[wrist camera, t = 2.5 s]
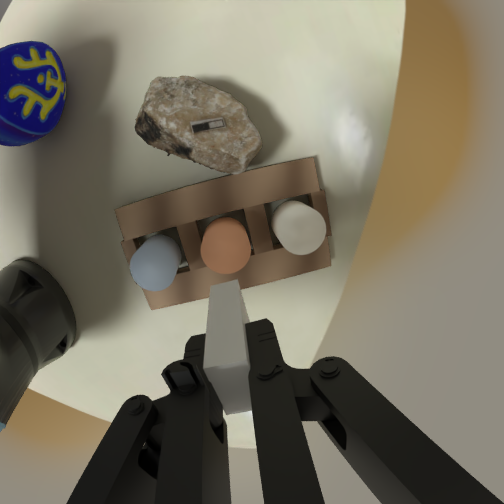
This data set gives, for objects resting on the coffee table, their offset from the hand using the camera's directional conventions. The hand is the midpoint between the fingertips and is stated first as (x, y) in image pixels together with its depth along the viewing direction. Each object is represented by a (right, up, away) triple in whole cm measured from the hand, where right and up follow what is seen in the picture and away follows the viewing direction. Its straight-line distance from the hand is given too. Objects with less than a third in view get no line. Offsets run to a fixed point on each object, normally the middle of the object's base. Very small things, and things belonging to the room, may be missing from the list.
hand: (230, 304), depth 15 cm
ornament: (-23, +21, +7) cm, 32 cm away
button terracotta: (-2, +4, +13) cm, 14 cm away
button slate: (-8, +3, +13) cm, 16 cm away
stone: (-4, +15, +11) cm, 19 cm away
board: (-2, +5, +15) cm, 15 cm away
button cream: (+5, +6, +13) cm, 15 cm away
